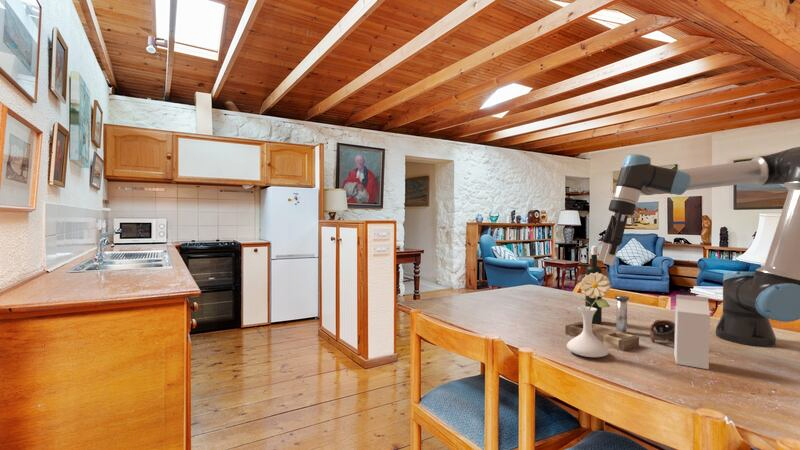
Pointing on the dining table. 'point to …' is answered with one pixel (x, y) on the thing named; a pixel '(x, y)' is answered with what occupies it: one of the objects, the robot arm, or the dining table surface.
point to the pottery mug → (662, 330)
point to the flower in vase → (591, 317)
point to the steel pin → (621, 313)
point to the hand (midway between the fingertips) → (604, 262)
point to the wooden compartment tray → (606, 336)
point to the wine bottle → (598, 314)
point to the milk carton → (692, 331)
